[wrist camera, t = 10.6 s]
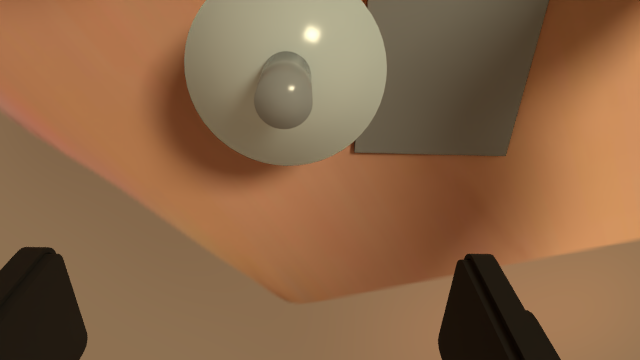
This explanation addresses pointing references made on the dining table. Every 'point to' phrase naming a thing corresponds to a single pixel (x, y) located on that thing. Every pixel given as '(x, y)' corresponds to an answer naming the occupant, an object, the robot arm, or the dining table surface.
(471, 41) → the mat
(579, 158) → the dining table surface
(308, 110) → the lid
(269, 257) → the dining table surface
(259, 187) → the dining table surface
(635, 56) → the dining table surface
